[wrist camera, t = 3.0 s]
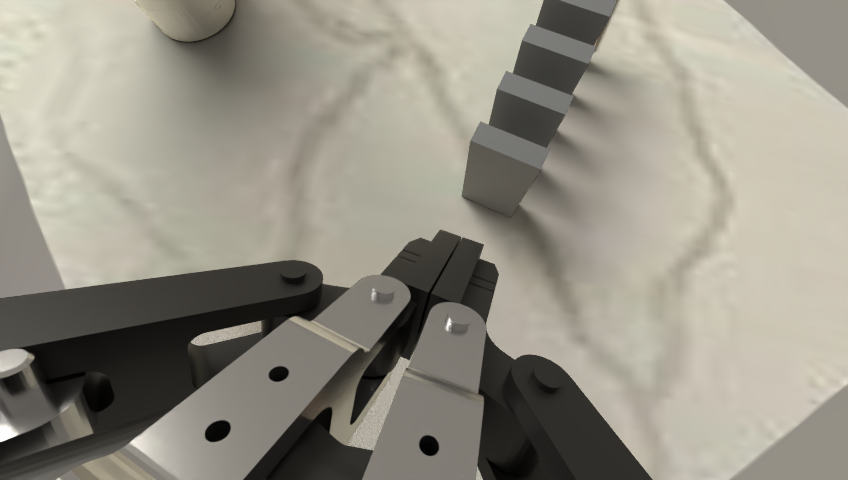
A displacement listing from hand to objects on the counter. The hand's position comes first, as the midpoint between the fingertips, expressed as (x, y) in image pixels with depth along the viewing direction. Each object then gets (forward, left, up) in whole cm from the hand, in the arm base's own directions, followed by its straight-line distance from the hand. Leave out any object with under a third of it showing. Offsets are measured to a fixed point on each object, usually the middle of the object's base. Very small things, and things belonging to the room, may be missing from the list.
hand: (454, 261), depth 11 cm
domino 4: (-1, +11, -20) cm, 22 cm away
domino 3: (-1, +15, -20) cm, 25 cm away
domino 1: (-1, +24, -20) cm, 31 cm away
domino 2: (-1, +20, -20) cm, 28 cm away
